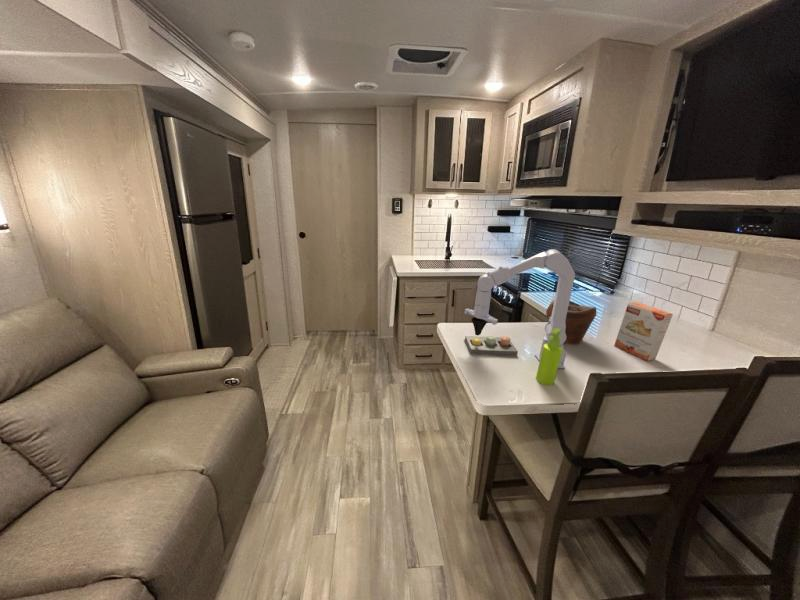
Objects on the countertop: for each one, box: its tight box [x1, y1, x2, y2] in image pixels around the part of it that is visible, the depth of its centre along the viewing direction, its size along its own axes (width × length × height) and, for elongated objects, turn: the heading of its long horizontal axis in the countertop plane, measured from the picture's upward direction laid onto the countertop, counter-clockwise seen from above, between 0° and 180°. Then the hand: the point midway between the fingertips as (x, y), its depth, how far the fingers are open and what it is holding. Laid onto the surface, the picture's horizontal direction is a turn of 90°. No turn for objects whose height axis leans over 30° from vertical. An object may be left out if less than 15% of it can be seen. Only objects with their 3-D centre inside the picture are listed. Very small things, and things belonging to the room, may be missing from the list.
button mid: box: [486, 335, 496, 346], centre depth 127 cm, size 4×4×3 cm
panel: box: [464, 335, 519, 357], centre depth 128 cm, size 12×19×2 cm, turn 90°
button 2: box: [500, 336, 511, 347], centre depth 127 cm, size 4×4×3 cm
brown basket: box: [545, 299, 597, 345], centre depth 138 cm, size 18×20×18 cm
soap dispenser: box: [535, 328, 562, 386], centre depth 104 cm, size 6×7×20 cm
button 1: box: [471, 338, 482, 346], centre depth 128 cm, size 4×4×3 cm
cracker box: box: [613, 301, 673, 362], centre depth 127 cm, size 14×6×21 cm, turn 23°
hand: (477, 334), depth 126 cm, fingers closed
